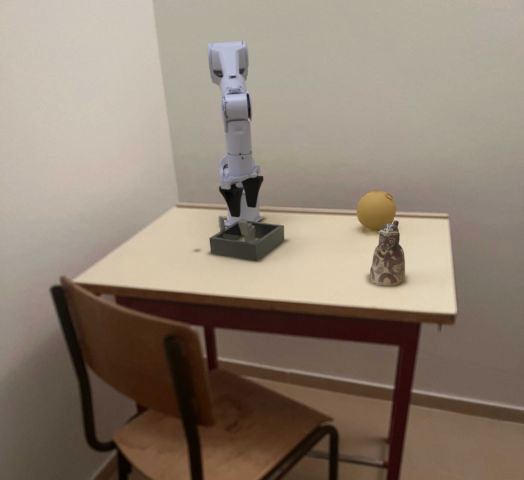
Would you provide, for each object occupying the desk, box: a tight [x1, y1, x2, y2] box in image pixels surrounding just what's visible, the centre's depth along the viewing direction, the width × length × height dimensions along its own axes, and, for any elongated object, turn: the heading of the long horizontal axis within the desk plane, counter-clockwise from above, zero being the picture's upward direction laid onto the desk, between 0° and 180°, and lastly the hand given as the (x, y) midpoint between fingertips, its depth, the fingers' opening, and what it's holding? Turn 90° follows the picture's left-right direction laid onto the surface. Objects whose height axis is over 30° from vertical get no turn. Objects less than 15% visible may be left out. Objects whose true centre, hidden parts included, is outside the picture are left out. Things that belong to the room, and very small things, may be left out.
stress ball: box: [356, 189, 397, 231], centre depth 132 cm, size 10×10×10 cm
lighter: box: [238, 219, 257, 243], centre depth 127 cm, size 7×2×8 cm, turn 162°
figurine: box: [369, 219, 406, 287], centre depth 106 cm, size 7×7×12 cm
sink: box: [208, 215, 285, 262], centre depth 127 cm, size 14×15×7 cm
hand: (243, 211), depth 124 cm, fingers open, 7 cm apart
